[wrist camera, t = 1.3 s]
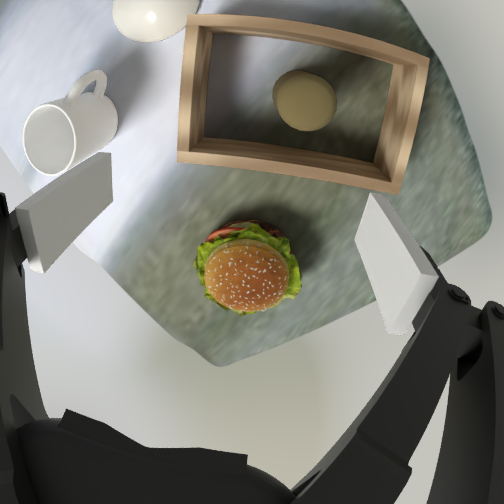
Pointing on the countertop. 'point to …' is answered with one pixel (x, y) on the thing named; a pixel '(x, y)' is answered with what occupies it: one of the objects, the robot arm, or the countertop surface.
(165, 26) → the coaster
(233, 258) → the food
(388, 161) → the access box
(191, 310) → the countertop surface
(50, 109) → the mug
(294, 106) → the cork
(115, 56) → the countertop surface
